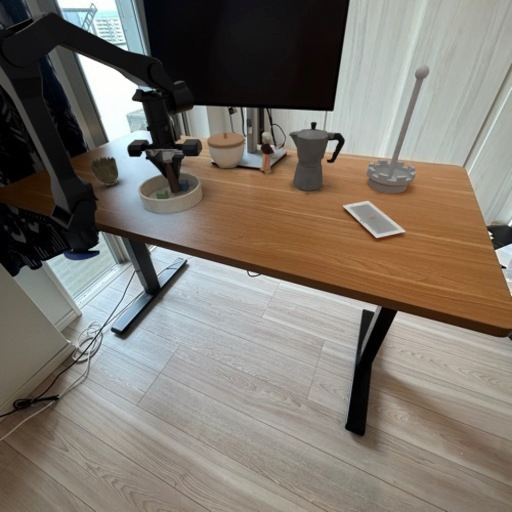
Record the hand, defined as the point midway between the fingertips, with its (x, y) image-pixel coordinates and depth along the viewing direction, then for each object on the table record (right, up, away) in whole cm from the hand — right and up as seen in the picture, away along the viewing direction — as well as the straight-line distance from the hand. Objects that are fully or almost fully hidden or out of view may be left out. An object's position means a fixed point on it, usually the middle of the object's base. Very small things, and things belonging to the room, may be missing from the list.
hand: (172, 178), depth 77 cm
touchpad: (+53, -14, -9) cm, 55 cm away
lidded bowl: (+14, +11, +20) cm, 26 cm away
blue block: (+2, -2, +5) cm, 6 cm away
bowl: (0, -6, +2) cm, 6 cm away
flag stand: (+64, -1, +5) cm, 64 cm away
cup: (-23, 0, +10) cm, 25 cm away
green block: (-3, -6, +1) cm, 7 cm away
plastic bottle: (-6, +10, +20) cm, 24 cm away
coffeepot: (+41, 0, +6) cm, 42 cm away
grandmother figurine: (+28, +6, +15) cm, 32 cm away
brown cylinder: (0, -3, +3) cm, 4 cm away
